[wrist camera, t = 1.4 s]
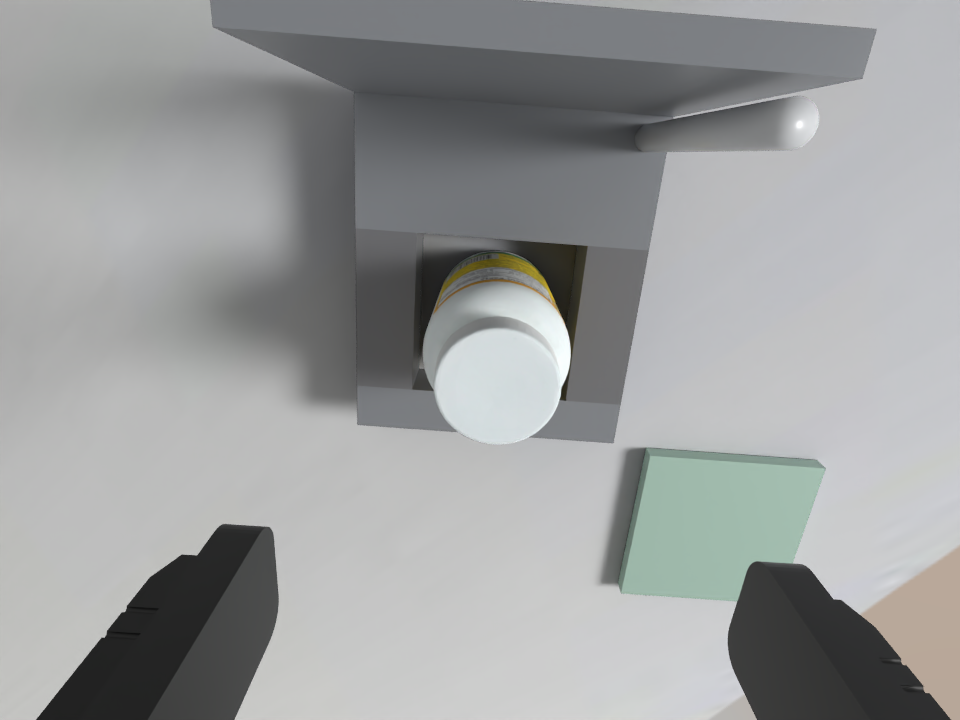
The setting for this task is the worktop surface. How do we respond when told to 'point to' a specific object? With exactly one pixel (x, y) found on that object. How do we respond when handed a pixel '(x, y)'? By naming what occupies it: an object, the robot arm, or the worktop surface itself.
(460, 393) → the supplement bottle
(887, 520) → the worktop surface
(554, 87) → the case
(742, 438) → the worktop surface
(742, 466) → the pad
